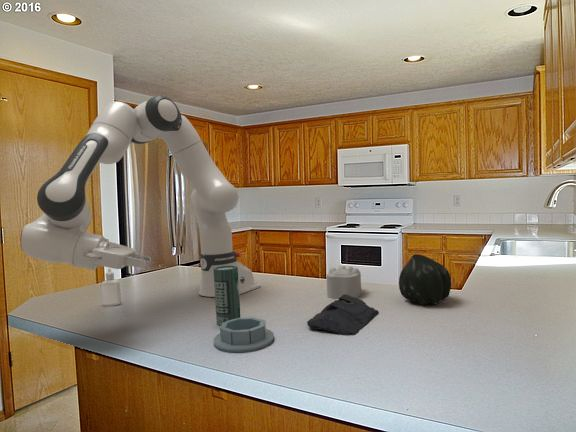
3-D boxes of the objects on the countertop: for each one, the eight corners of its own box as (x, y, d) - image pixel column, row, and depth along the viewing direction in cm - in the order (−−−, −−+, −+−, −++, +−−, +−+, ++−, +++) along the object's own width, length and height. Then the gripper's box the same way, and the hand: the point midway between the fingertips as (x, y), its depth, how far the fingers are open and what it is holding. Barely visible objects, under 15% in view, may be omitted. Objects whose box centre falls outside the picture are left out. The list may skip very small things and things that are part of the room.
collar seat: (248, 327, 107) (247, 311, 106) (286, 338, 97) (285, 322, 96) (202, 343, 97) (200, 326, 97) (239, 358, 87) (237, 339, 87)
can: (244, 320, 112) (241, 266, 111) (230, 327, 107) (227, 270, 106) (227, 318, 115) (223, 265, 114) (212, 325, 110) (209, 269, 109)
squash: (467, 281, 121) (432, 242, 126) (451, 295, 110) (412, 251, 115) (433, 307, 129) (401, 269, 134) (414, 322, 117) (379, 280, 123)
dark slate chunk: (296, 331, 103) (295, 313, 103) (331, 307, 122) (330, 291, 122) (355, 339, 96) (354, 319, 95) (382, 312, 115) (381, 295, 115)
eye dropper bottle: (112, 307, 133) (109, 270, 133) (100, 305, 136) (97, 269, 135) (123, 303, 137) (120, 267, 136) (111, 302, 140) (108, 267, 139)
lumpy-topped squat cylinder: (324, 298, 131) (323, 271, 131) (334, 288, 143) (333, 264, 143) (357, 300, 128) (356, 272, 127) (364, 289, 140) (363, 264, 139)
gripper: (83, 241, 94) (145, 253, 97) (104, 238, 114) (155, 248, 117) (76, 268, 94) (139, 279, 96) (98, 260, 114) (150, 270, 116)
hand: (148, 262), depth 107 cm, fingers open, 8 cm apart
